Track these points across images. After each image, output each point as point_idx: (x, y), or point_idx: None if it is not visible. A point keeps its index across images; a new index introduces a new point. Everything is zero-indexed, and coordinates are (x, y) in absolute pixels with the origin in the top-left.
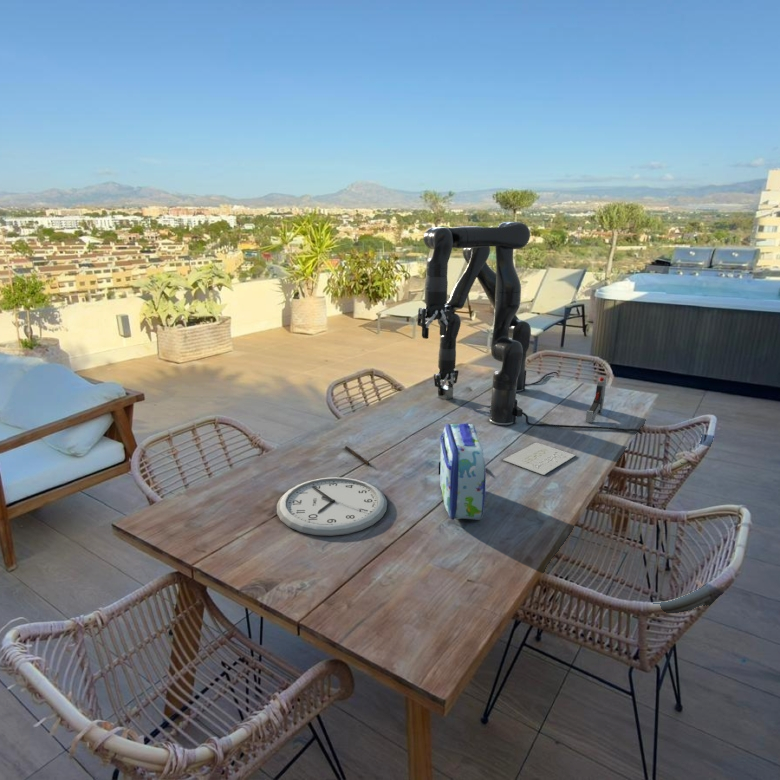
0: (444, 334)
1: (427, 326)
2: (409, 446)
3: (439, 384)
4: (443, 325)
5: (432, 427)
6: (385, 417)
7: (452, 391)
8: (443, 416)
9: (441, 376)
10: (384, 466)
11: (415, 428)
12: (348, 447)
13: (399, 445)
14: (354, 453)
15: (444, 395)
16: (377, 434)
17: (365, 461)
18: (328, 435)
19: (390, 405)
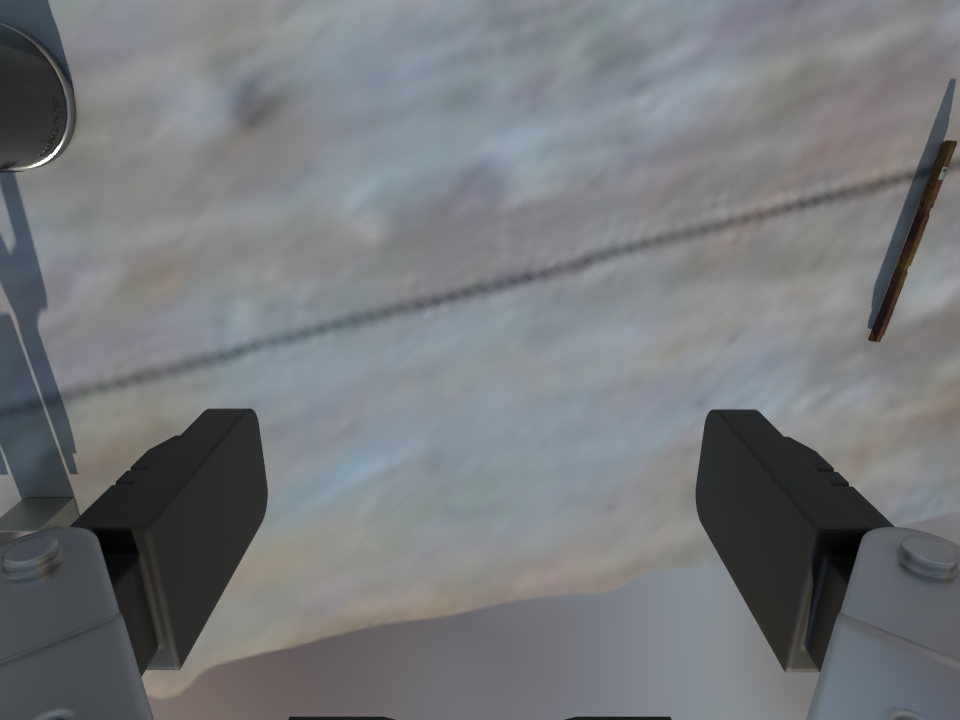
0: (234, 414)
1: (939, 546)
2: (649, 179)
3: None
4: (156, 565)
5: (389, 281)
6: (478, 499)
7: (3, 519)
8: (239, 351)
9: None
10: (906, 81)
11: (464, 323)
12: (883, 322)
13: (674, 218)
14: (909, 261)
15: (64, 520)
16: (650, 376)
17: (946, 162)
18: None
19: (357, 589)
